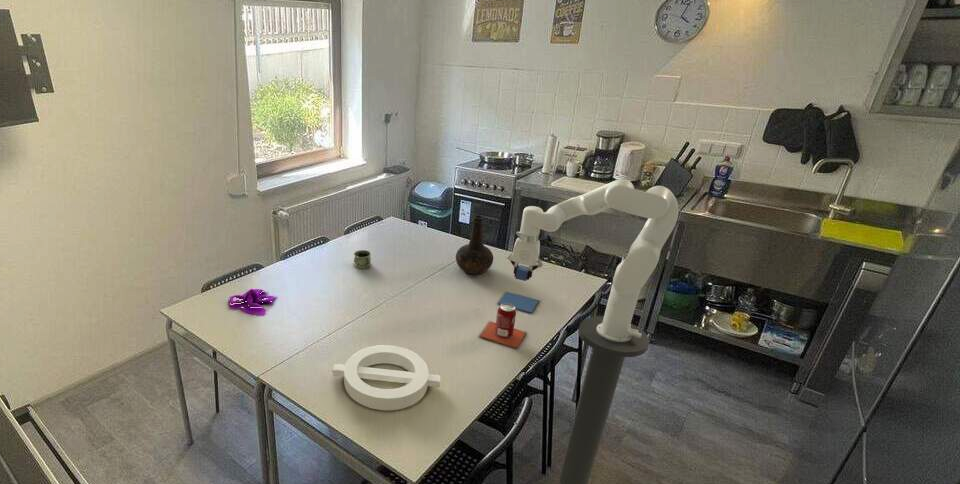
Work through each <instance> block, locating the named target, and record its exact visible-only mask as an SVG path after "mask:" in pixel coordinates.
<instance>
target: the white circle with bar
mask: <svg viewBox="0 0 960 484" xmlns="http://www.w3.org/2000/svg"><path fill="white" fill-rule="evenodd" d="M378 364H389V365H395V366H399V367H402V368H403V369H405V370H406V371H405V370H398V369H397V370H396V369H388V368H380V367H379V368H377V367H371V366H374V365H378ZM332 376H333V377H341V378H343V384H344V389H345V391H346V393H347V394H348V396H349V397H350V398H351V399H352V400H354V401H355V402H357V403H358V404H360V405H362V406H364V407H366V408H369V409H373V410H377V411H398V410H403V409H406V408H409V407H411V406H413V405H415V404H417V403H418V402H419V401H421V399H423V398H424V397H425V395H426V393H427V390H428V388H429V387H431V388H433V387H434V388H441V374H433V373H429V367H428V365H427V363H426V361H425V360H424V359H423V358H422V357H421V356H420V355H419V354H417V353H416V352H414V351H412V350H410V349H408V348H405V347H402V346H397V345H393V344H392V345H390V344H379V345H371V346H366V347H364V348H362V349H359V350H357V351H356V352H354V353H353V354H352V355H350V357H348V359H347V360H346V362H345V363H344V364H343V363H334V364H333V367H332ZM362 379H364V380H373V381H374V380H375V381H383V382H391V383H401V384H405V385H403V386H400V387H396V388H380V387H375V386H372V385H369V384H368V383H366V382H364V381H363V380H362Z"/></svg>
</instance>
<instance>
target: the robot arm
mask: <svg viewBox="0 0 960 484" xmlns="http://www.w3.org/2000/svg"><path fill="white" fill-rule="evenodd" d="M609 209H614V210H617V211H619V212H623V213H627V214H631V215H634V216H638V217H641V218H645V219H647V220H646V221H645V224H644V225H643V227H642V229H641V230H640V232H639V234H638V235H637V237H636V238H635V240H634V241H633V242H632V244H631V245H630V248H629V250H628V253H627V255H626V257H625V258H624V260H622V261H620V263H619V264H617V266H616V268H615V271H614V275H613V278H612V284H611V288H610V291H609V292H610V293H609V296H608V299H607V304H606V307H605V311H604V315H603V317H604V318H603V322H602V323H601V324H599V325H598V326H597V328H596V331H597V333H598V334H599V335H600V336H602V337H603V338H605V339H607V340H610V341H614V342H627V341H629V340H630V339H631V337H632V336H634V337H637V338H641V335H642V334H641V333H638V331H639V330H635V329H632V328H630V327H631V324H632V320H633V317H634V314H635V310H636V306H637V304H638V301H639V300H638V299H639V298H640V297H639V296H640V293H641V290H642V288H643V287H644V286H645V284H646V283H647V281H648V280H649V278H650V277H651V275H652V273H653V272H654V271H655V269H656V268H657V265H658V263H659V261H660V256H661V251H662V249H663V247H664V245H665V244H666V242H667V240H668V239H669V238H670V235H671V234H672V232H673V230H674V228H675V226H676V224H677V221H678V218H679V212H680V211H679V203H678V200H677V197H676V196H675V195H674V193H673V192H672V191H671V189H669V188H668V187H665V186H664V185H655V186H652V187H650V188H648V189H647V190H646V191H644V190H639V189H637V188H635V186H634V184H633V183H632V182H631V181H630V180H628V179H626V178H617V179H616V180H613V181H611V182H608V183H606V184H604V185H601V186H599V187H597V188H595V189H592V190H590V191H587V192H586V193H583V194H580V195H578V196H574V197H571V198H569V199H566V200H564V201H562V202H559V203H557V204H554V205H553V206H550V208H548V209H547V211H544V210H543V209H542V208H541V207H539V206H535V205H529V206H525V208H524V209H523V212H522V217H521V222H520V228H519V229H520V230H519V231H516V232H515V236H518V237H517V238H516V239H515V242H514V245H513V249H512V253H510V254H509V255H508V256H507V260H508V261H510V263H511V264H512V266H513V274H514V278H515V277H516V271H517V268H518V267H519V265H524V266H528V267H529V271H528V275H527V280H526V281H529V280H530V279H531V278H532V276H533V273H534V272H533V271H535V270H537V269H539V268H542V267H543V266H544V264H543V262H542V259H541V258H540V252H541V242H540V241H541V240H540V239H539V238H540V235H541V234H540V233H541V230H543V231H545V232H548V233H553V232H556V231H557V230H559V229H560V227H561V226H562V225H563V223H564V222H566V221H568V220H571V219H574V218H576V217H578V216H583V215H586V216H595V215H597V214H599V213H602V212H604V211H606V210H609Z"/></svg>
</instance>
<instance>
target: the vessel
mask: <svg viewBox="0 0 960 484" xmlns="http://www.w3.org/2000/svg"><path fill="white" fill-rule="evenodd" d="M353 255H354V257H353V262H354V266H355V267H356V268H359V269H366V268H369V267H370V266H371V261H372V258H371V255H372V252H371V251H369V250H365V249H359V250H356V251H354V253H353Z"/></svg>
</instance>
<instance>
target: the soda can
mask: <svg viewBox="0 0 960 484" xmlns="http://www.w3.org/2000/svg"><path fill="white" fill-rule="evenodd" d="M516 310H517V309H515V307H514V306H513V305H511V304H507V303H504V304H501V305H499V307H498V308H497V311H496V312H497V313H496V320H495V323H496V326H495V333H496V334H497V335H498V336H500V337H510V336H512V335H513V330H514V329H515V322H516V317H517V311H516Z"/></svg>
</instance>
